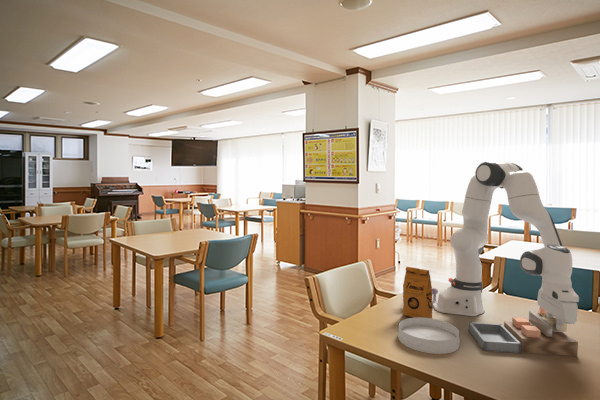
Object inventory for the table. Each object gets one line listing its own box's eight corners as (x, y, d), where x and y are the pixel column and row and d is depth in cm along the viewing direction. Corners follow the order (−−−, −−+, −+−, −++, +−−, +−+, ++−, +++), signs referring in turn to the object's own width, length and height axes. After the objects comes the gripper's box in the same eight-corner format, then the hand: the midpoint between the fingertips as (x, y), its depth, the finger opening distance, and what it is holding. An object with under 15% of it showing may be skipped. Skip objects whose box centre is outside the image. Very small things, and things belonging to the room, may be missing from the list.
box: (483, 350, 132) (483, 341, 132) (468, 330, 150) (468, 322, 150) (521, 353, 130) (521, 343, 130) (501, 332, 148) (501, 324, 148)
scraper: (547, 336, 131) (547, 325, 130) (528, 321, 144) (529, 311, 144) (575, 338, 129) (575, 326, 129) (553, 322, 143) (554, 312, 143)
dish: (429, 360, 126) (429, 345, 126) (385, 335, 145) (386, 323, 145) (473, 346, 136) (473, 333, 136) (427, 325, 156) (427, 313, 155)
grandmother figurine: (533, 312, 172) (534, 285, 171) (540, 312, 172) (542, 285, 171) (545, 318, 164) (546, 290, 163) (553, 318, 164) (554, 290, 164)
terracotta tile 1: (526, 336, 132) (527, 330, 132) (521, 331, 137) (521, 325, 137) (540, 337, 132) (540, 330, 132) (534, 332, 136) (534, 325, 136)
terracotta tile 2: (517, 328, 140) (517, 321, 140) (512, 323, 145) (512, 317, 145) (529, 328, 140) (530, 322, 139) (524, 324, 144) (524, 317, 144)
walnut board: (521, 352, 131) (522, 338, 131) (503, 333, 147) (504, 321, 147) (577, 356, 129) (578, 342, 128) (553, 336, 144) (553, 324, 144)
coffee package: (425, 324, 157) (426, 272, 155) (399, 316, 165) (400, 267, 164) (436, 318, 163) (437, 268, 162) (410, 310, 172) (411, 264, 171)
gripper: (533, 281, 147) (532, 315, 147) (561, 297, 126) (560, 337, 127) (550, 282, 146) (549, 316, 146) (582, 298, 125) (580, 338, 126)
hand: (554, 326), depth 137 cm, fingers closed on scraper, 3 cm apart
